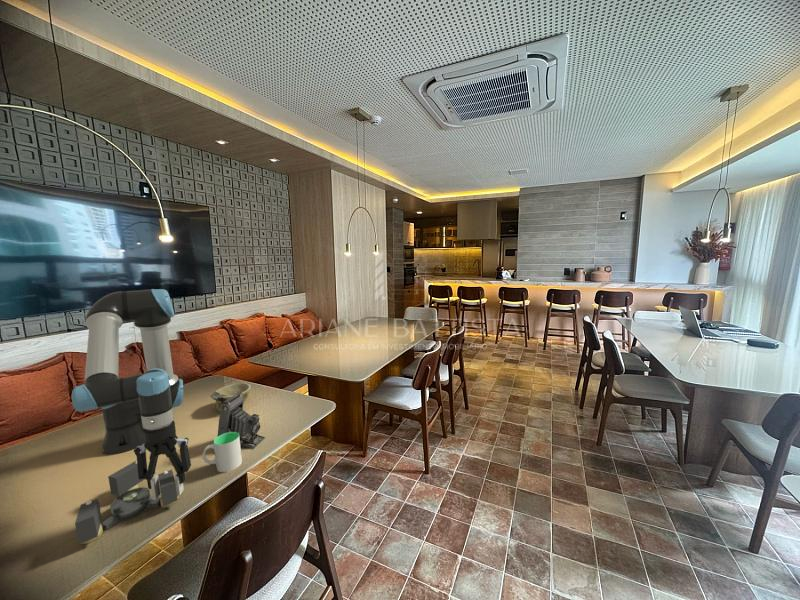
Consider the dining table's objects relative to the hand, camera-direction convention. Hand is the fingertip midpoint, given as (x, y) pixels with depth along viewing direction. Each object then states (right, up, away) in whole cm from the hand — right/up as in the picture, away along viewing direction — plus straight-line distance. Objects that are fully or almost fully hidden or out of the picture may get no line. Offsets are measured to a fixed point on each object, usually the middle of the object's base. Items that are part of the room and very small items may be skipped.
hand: (168, 494), depth 97 cm
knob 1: (-12, -4, -11) cm, 18 cm away
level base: (-10, -3, -3) cm, 11 cm away
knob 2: (0, -2, 0) cm, 2 cm away
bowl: (-14, +5, +64) cm, 65 cm away
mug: (+7, 0, +17) cm, 18 cm away
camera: (+7, +2, +32) cm, 33 cm away
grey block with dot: (-17, -2, +5) cm, 18 cm away
